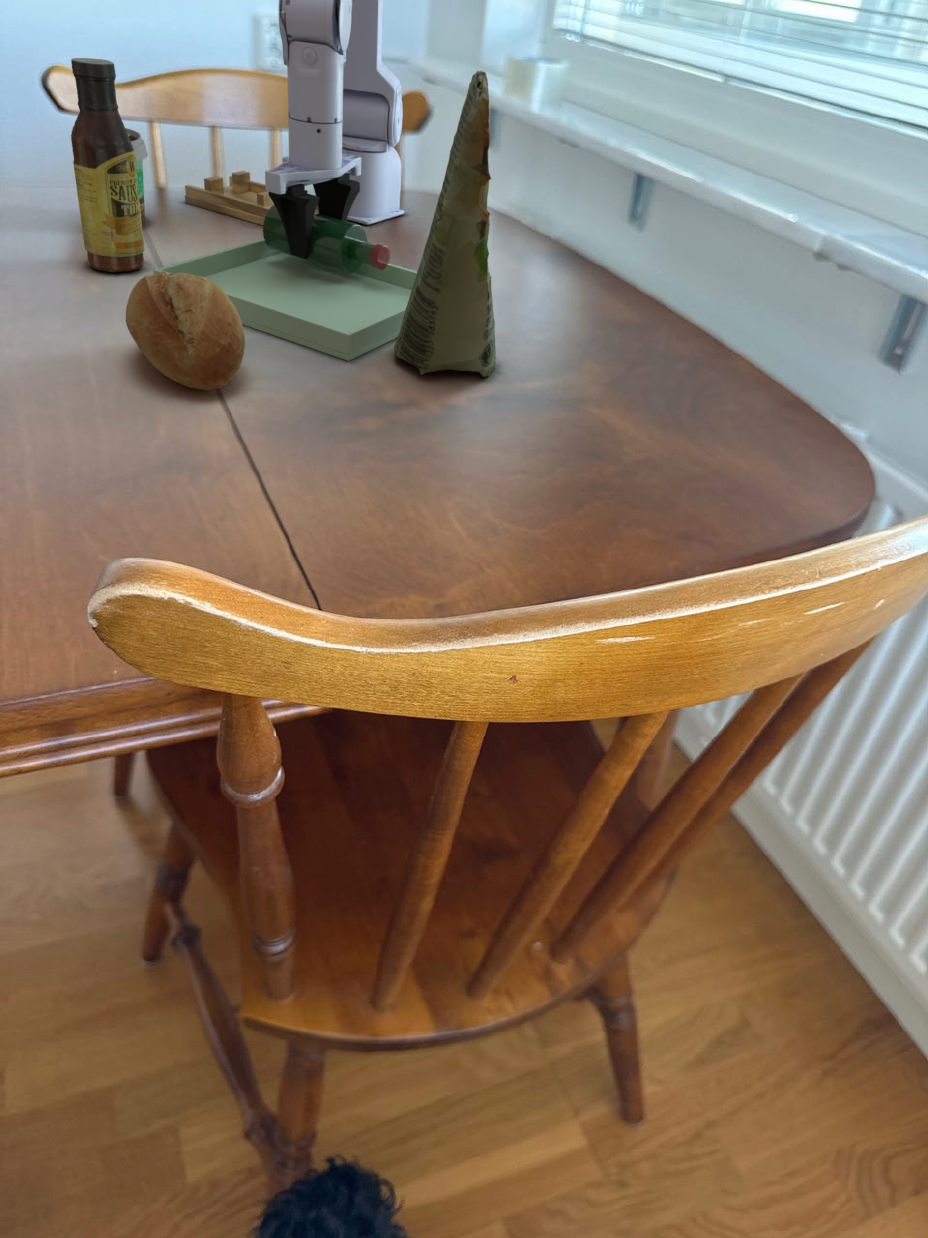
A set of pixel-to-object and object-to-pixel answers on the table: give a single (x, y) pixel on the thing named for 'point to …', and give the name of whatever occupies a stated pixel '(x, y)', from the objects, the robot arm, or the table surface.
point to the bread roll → (186, 329)
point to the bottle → (329, 243)
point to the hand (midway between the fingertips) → (315, 250)
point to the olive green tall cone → (456, 259)
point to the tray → (308, 297)
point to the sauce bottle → (105, 172)
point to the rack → (233, 197)
